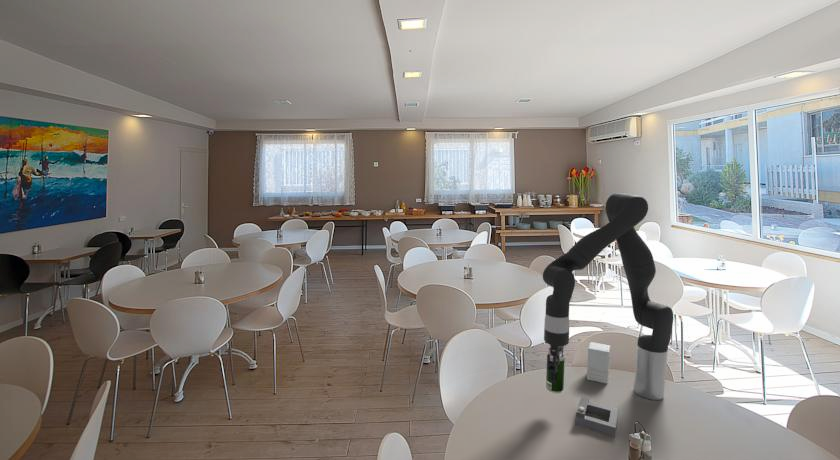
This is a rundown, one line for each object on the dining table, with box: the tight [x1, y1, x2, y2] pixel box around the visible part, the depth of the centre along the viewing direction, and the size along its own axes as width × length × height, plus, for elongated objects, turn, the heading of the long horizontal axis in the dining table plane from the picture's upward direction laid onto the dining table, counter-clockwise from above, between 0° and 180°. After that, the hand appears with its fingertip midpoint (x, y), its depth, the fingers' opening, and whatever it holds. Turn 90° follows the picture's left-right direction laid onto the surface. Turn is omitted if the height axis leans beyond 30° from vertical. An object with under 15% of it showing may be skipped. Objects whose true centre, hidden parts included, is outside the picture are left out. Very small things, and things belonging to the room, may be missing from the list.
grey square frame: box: [575, 395, 619, 438], centre depth 122 cm, size 11×11×5 cm
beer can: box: [545, 352, 565, 394], centre depth 126 cm, size 5×5×12 cm
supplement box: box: [586, 341, 611, 384], centre depth 150 cm, size 7×7×13 cm
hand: (555, 377), depth 126 cm, fingers closed on beer can, 5 cm apart
